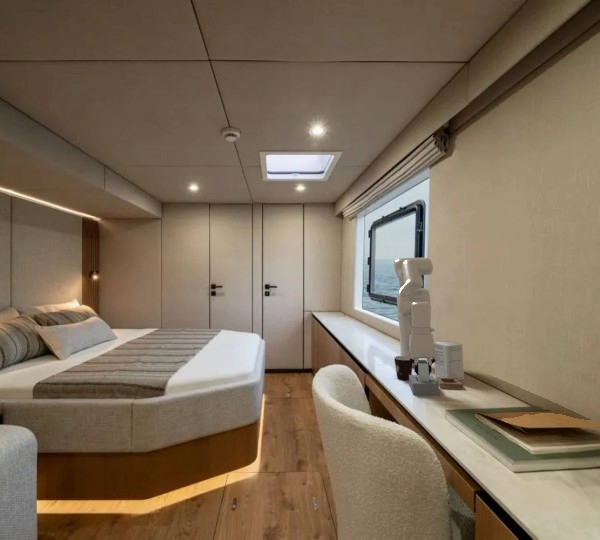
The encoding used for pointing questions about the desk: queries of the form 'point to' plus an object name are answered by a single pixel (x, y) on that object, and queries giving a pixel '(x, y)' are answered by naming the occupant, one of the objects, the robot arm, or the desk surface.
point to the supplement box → (449, 360)
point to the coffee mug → (403, 367)
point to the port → (424, 386)
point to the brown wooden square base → (449, 383)
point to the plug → (423, 370)
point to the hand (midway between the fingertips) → (422, 373)
